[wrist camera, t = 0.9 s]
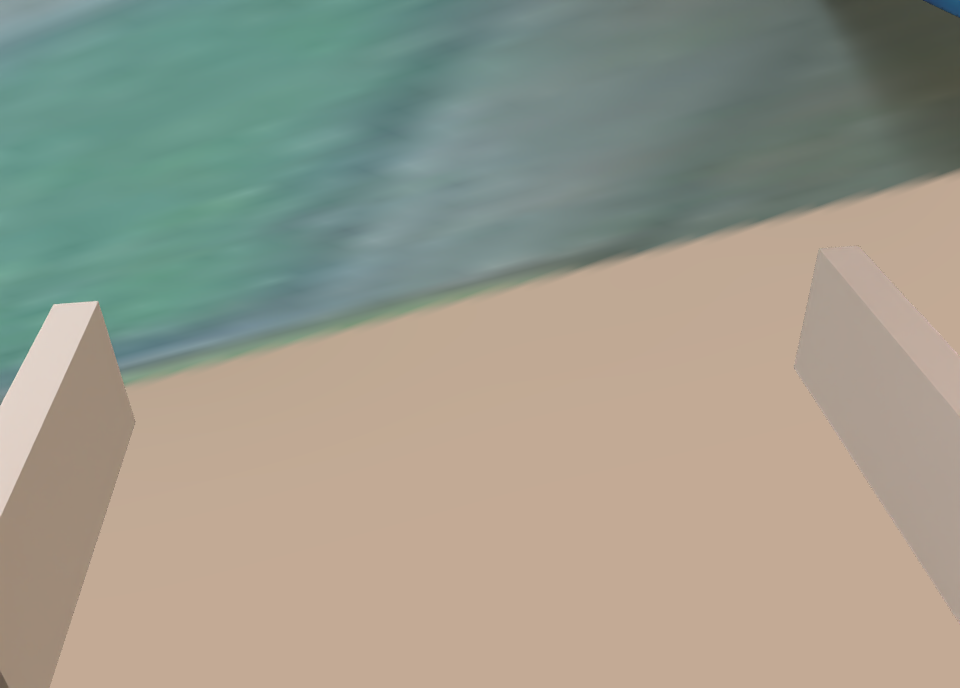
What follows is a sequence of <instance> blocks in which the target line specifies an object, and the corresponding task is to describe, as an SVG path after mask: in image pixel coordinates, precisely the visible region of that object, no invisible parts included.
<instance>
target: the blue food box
mask: <svg viewBox="0 0 960 688" xmlns="http://www.w3.org/2000/svg"><path fill="white" fill-rule="evenodd" d="M923 1H926V2H928V3H930V4H932V5H934V6H936V7H938V8H940V9H942V10H944V11H946V12H949V13H951V14H953V15H955V16H957V17H959V18H960V0H923Z"/></svg>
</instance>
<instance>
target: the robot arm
mask: <svg viewBox="0 0 960 688" xmlns="http://www.w3.org/2000/svg"><path fill="white" fill-rule="evenodd" d="M794 369H795V370H796V372H797V374H798V375H799V377H800V378H801V380H802V381H803V383H804V384H805V386H806V387H807V389H808V391H809V392H810V394H811V395H812V397H813V398H814V400H815V401H816V403H817V404H818V406H819V408H820V409H821V410H822V412H823V414H824V415H825V417H826V418H827V420H828V421H829V423H830V425H831V426H832V428H833V429H834V431H835V432H836V434H837V435H838V437H839V438H840V440H841V442H842V443H843V445H844V446H845V448H846V449H847V451H848V452H849V454H850V455H851V457H852V459H853V460H854V462H855V463H856V465H857V466H858V468H859V469H860V471H861V472H862V474H863V475H864V477H865V479H866V480H867V482H868V483H869V485H870V486H871V488H872V489H873V491H874V492H875V494H876V495H877V497H878V498H879V500H880V502H881V503H882V505H883V506H884V508H885V509H886V511H887V512H888V514H889V516H890V517H891V519H892V520H893V522H894V523H895V525H896V527H897V528H898V530H899V531H900V533H901V534H902V535H903V537H904V539H905V540H906V542H907V544H908V545H909V547H910V548H911V550H912V551H913V553H914V554H915V556H916V557H917V559H918V561H919V562H920V564H921V565H922V567H923V568H924V570H925V571H926V573H927V574H928V576H929V577H930V579H931V581H932V582H933V584H934V585H935V587H936V588H937V590H938V591H939V593H940V595H941V596H942V598H943V599H944V601H945V602H946V604H947V605H948V607H949V608H950V610H951V611H952V613H953V615H954V616H955V618H956V619H957V621H958V622H959V624H960V356H959V355H958V354H957V353H956V352H955V350H954V349H953V348H952V347H951V346H950V345H949V344H948V343H947V342H946V341H945V339H944V338H943V337H942V336H941V335H940V334H939V333H938V332H937V331H936V330H935V329H934V328H933V326H932V325H931V324H930V323H929V322H928V321H927V320H926V319H925V318H924V317H923V316H922V314H921V313H920V312H919V311H918V310H917V309H916V308H915V307H914V306H913V305H912V303H911V302H910V301H909V300H908V299H907V298H906V297H905V296H904V295H903V294H902V292H900V290H899V289H898V288H897V287H896V286H895V285H894V284H893V283H892V282H891V280H890V279H889V278H888V277H887V276H886V275H885V274H884V273H883V272H882V271H881V270H880V269H879V267H878V266H877V265H876V264H875V263H874V262H873V261H872V260H871V259H870V258H869V256H868V255H867V254H866V253H865V252H864V251H863V250H862V249H861V248H860V247H859V246H847V247H835V248H820V249H819V250H818V255H817V260H816V265H815V269H814V274H813V279H812V284H811V289H810V293H809V298H808V303H807V307H806V312H805V317H804V322H803V326H802V331H801V336H800V341H799V346H798V350H797V355H796V360H795V365H794ZM134 425H135V419H134V416H133V412H132V409H131V406H130V403H129V399H128V396H127V393H126V390H125V386H124V383H123V380H122V377H121V373H120V370H119V367H118V364H117V361H116V357H115V354H114V351H113V348H112V344H111V341H110V338H109V335H108V331H107V328H106V325H105V322H104V318H103V315H102V312H101V309H100V306H99V302H98V301H94V302H80V303H66V304H54V305H53V307H52V308H51V310H50V312H49V314H48V316H47V318H46V320H45V322H44V324H43V326H42V328H41V329H40V331H39V333H38V335H37V337H36V339H35V341H34V343H33V345H32V347H31V348H30V350H29V352H28V354H27V356H26V358H25V360H24V362H23V364H22V366H21V368H20V369H19V371H18V373H17V375H16V377H15V379H14V381H13V383H12V385H11V387H10V388H9V390H8V392H7V394H6V396H5V398H4V400H3V402H2V404H1V406H0V688H49V687H50V684H51V681H52V678H53V675H54V672H55V668H56V666H57V662H58V659H59V656H60V653H61V650H62V647H63V644H64V641H65V638H66V634H67V631H68V629H69V625H70V622H71V619H72V616H73V613H74V610H75V607H76V604H77V601H78V597H79V595H80V591H81V588H82V585H83V582H84V579H85V576H86V572H87V570H88V567H89V563H90V560H91V557H92V554H93V551H94V548H95V545H96V542H97V539H98V536H99V533H100V529H101V526H102V524H103V520H104V517H105V514H106V511H107V508H108V505H109V502H110V499H111V496H112V493H113V490H114V487H115V483H116V480H117V477H118V474H119V471H120V468H121V465H122V462H123V459H124V455H125V452H126V449H127V446H128V443H129V440H130V437H131V434H132V431H133V428H134Z"/></svg>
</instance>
